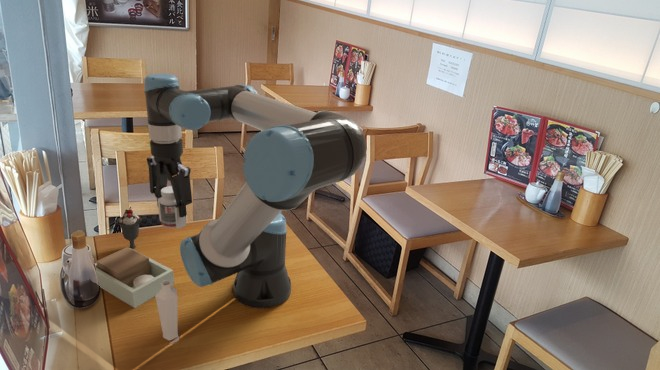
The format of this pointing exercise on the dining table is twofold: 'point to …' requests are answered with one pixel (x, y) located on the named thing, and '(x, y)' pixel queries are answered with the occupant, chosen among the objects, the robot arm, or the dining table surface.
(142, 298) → the tote
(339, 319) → the dining table surface
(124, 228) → the sundae
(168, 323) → the perfume bottle
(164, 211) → the pill bottle
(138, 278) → the white half dome
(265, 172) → the robot arm
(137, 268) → the walnut block
